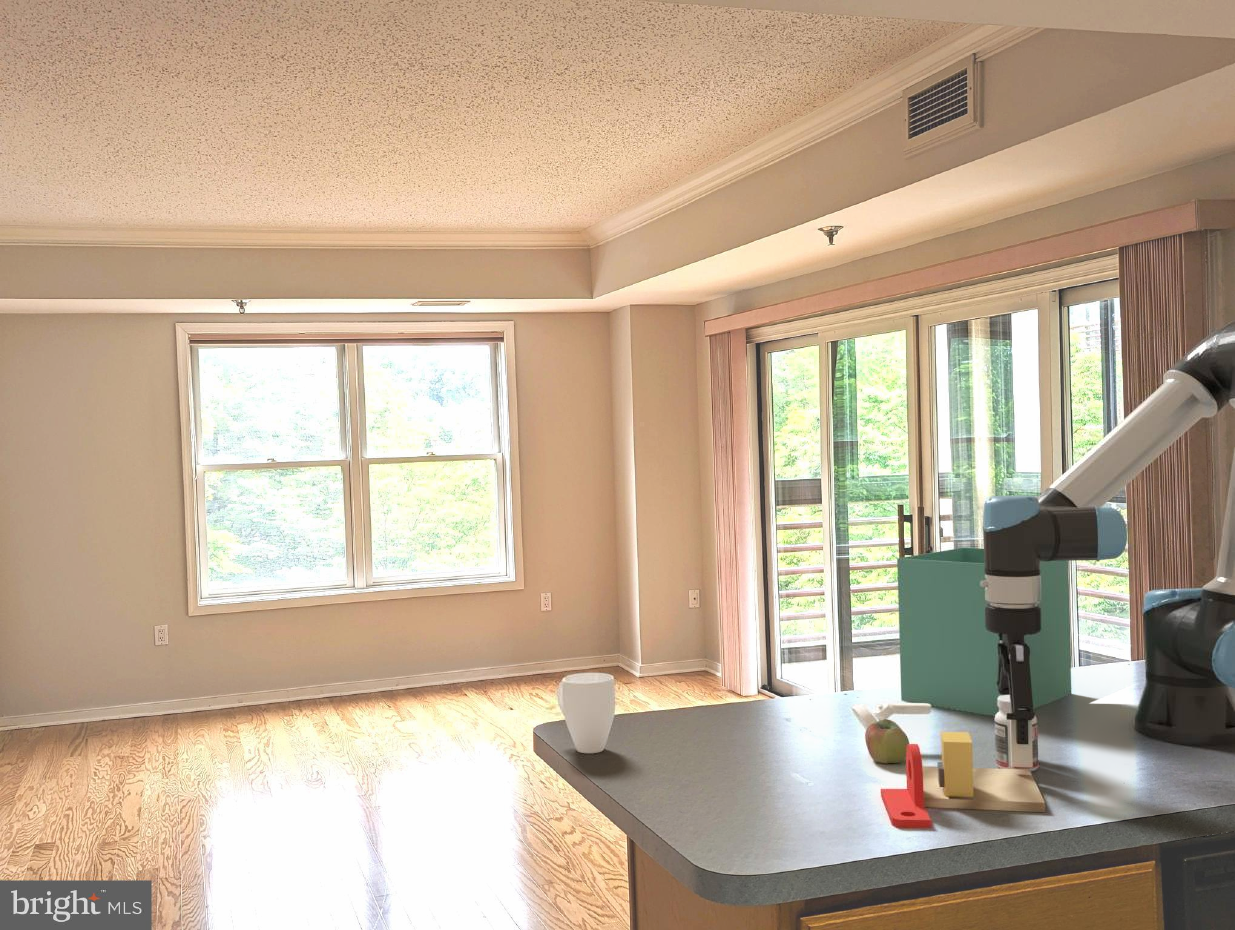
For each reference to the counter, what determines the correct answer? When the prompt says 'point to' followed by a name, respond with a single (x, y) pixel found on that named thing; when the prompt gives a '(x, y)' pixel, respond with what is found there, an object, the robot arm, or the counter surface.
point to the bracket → (908, 795)
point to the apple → (886, 742)
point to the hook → (888, 711)
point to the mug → (588, 709)
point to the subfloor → (987, 791)
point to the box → (973, 633)
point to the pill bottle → (1005, 739)
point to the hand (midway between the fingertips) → (1015, 752)
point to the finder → (956, 764)
